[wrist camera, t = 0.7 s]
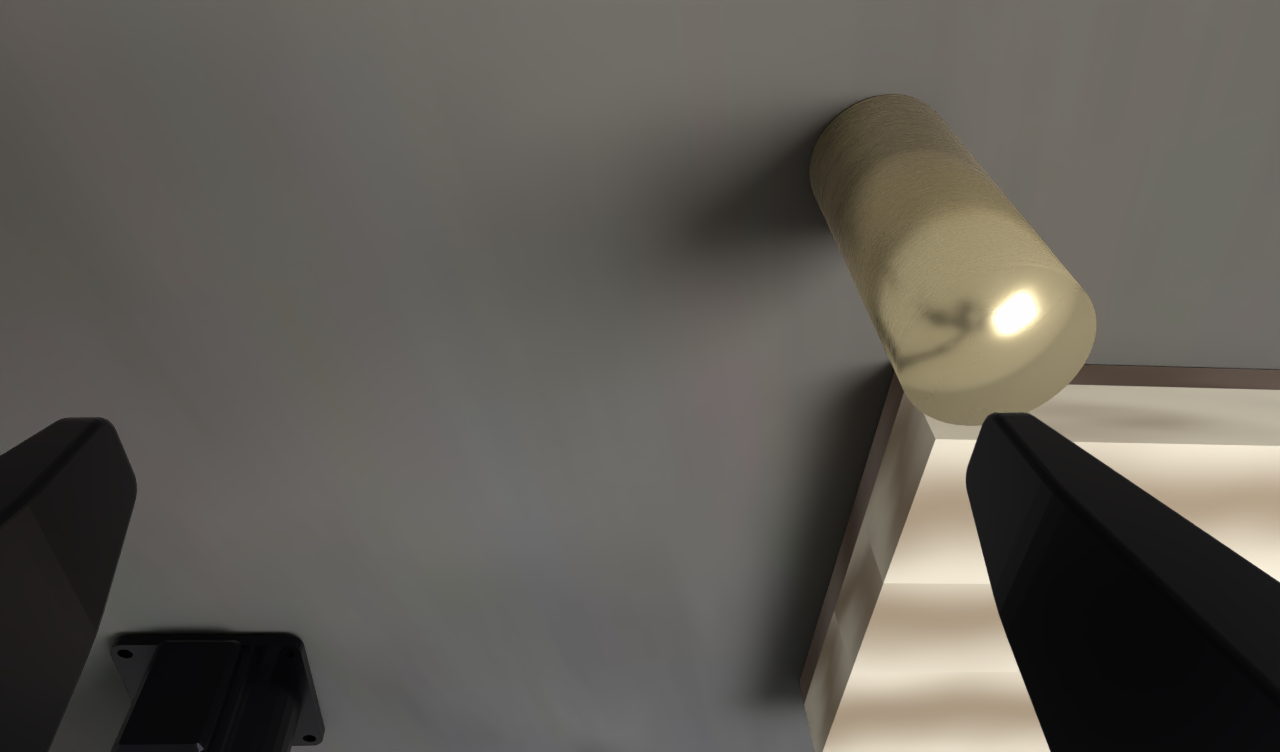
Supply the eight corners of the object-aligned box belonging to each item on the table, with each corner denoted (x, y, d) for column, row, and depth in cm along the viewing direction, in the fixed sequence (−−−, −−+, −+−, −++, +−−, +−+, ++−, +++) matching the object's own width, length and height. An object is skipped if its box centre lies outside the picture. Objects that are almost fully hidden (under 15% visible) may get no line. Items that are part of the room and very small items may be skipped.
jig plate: (1177, 680, 37) (1225, 760, 35) (799, 682, 36) (817, 765, 33) (1404, 373, 28) (1495, 450, 25) (898, 359, 26) (935, 439, 24)
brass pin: (928, 228, 24) (1055, 427, 17) (797, 223, 23) (879, 423, 17) (967, 98, 22) (1127, 270, 15) (824, 90, 21) (927, 263, 15)
